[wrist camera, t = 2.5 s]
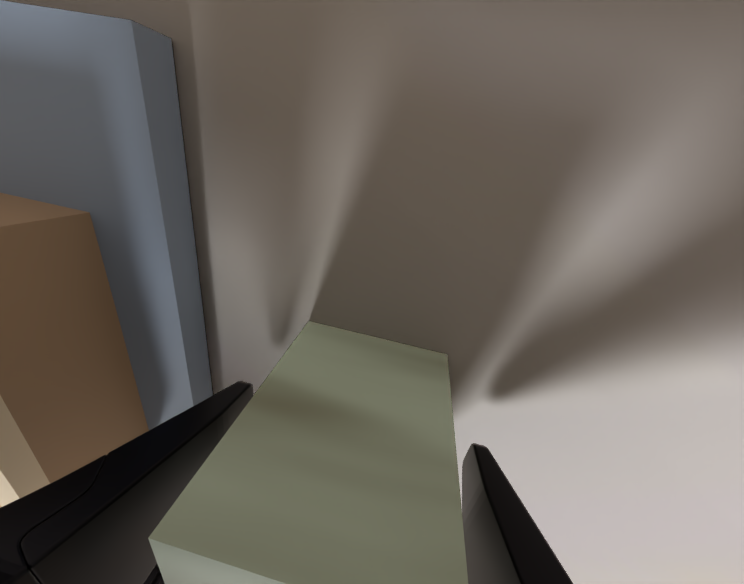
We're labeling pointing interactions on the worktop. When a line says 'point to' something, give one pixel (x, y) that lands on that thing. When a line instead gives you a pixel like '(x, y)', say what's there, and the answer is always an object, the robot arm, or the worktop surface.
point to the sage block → (328, 475)
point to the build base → (115, 169)
